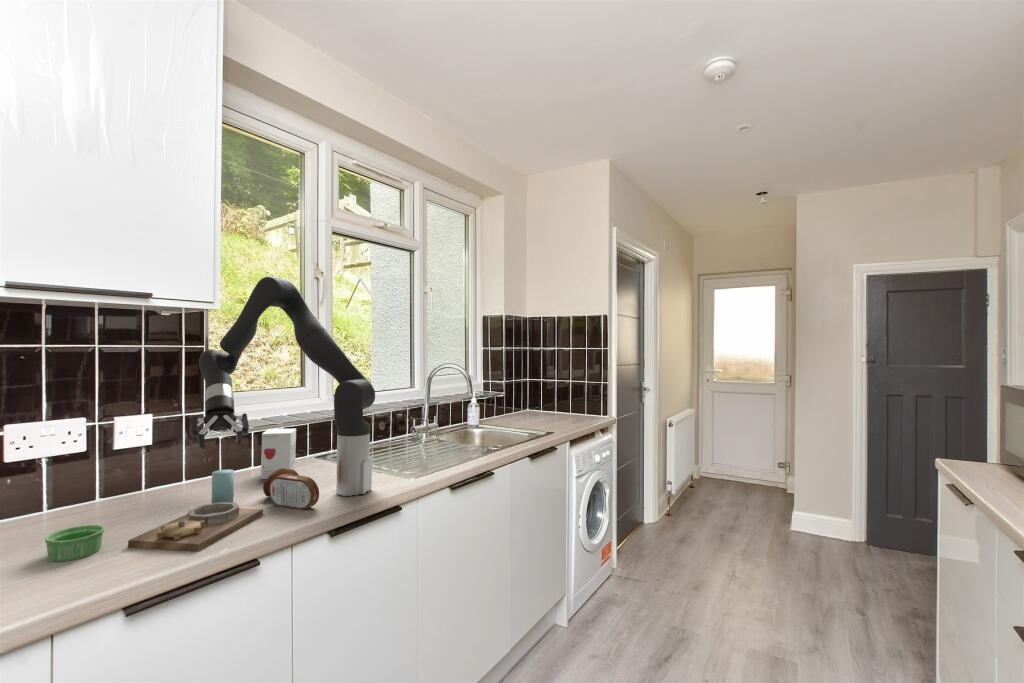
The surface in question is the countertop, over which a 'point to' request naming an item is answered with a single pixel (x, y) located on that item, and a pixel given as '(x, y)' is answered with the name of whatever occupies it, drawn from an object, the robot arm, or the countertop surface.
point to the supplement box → (277, 451)
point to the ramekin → (74, 542)
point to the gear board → (197, 528)
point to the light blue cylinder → (222, 486)
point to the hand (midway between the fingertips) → (221, 446)
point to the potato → (273, 475)
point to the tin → (294, 491)
